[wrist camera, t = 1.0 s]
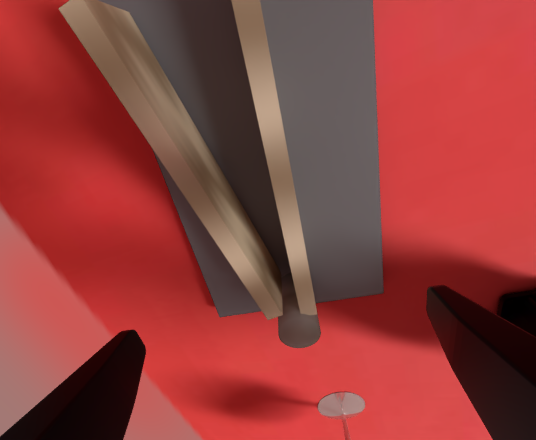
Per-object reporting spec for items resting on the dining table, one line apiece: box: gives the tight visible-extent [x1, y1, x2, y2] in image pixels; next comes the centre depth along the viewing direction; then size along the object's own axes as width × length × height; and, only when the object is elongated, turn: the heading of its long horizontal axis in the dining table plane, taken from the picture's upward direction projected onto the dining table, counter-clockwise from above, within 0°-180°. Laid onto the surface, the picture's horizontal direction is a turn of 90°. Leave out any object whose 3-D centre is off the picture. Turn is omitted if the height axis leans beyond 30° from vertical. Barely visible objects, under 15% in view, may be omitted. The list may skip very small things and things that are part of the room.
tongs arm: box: [59, 0, 283, 320], centre depth 16 cm, size 17×1×4 cm, turn 26°
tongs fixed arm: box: [231, 0, 321, 348], centre depth 16 cm, size 20×3×4 cm, turn 12°
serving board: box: [98, 0, 384, 317], centre depth 18 cm, size 22×13×1 cm, turn 12°
